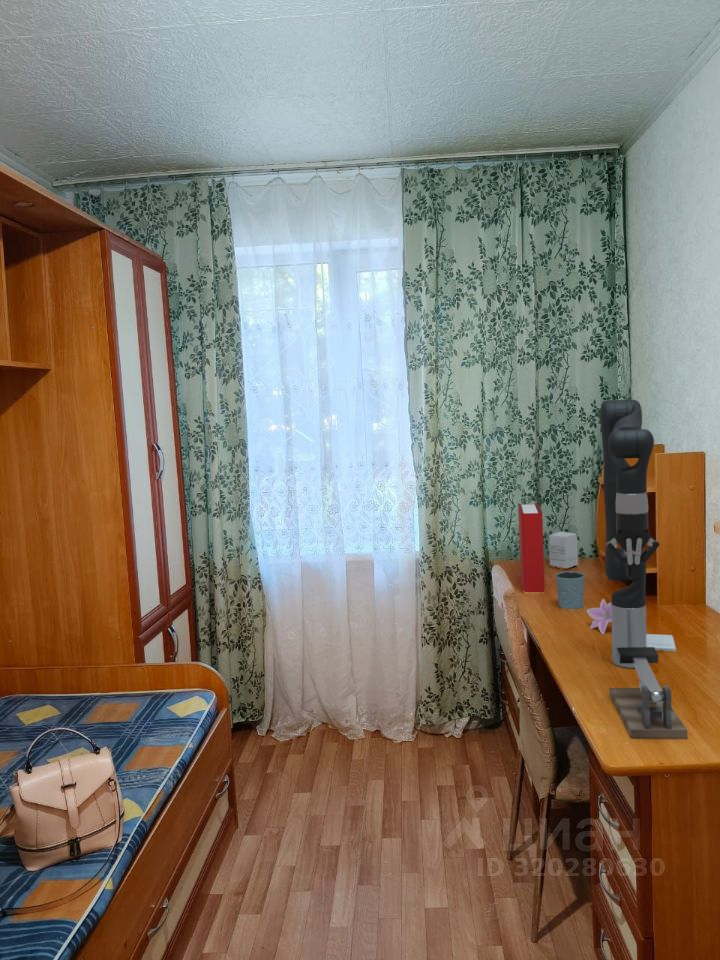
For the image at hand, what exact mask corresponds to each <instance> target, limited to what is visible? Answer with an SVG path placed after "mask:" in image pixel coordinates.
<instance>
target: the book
mask: <svg viewBox="0 0 720 960" xmlns="http://www.w3.org/2000/svg"><path fill="white" fill-rule="evenodd" d="M517 504H518V505H517V508H518V509H517V510H518V511H517V513H518V536H519V538H518V539H519V564H520V565H519V567H520V569H519V570H520V581H521V580H522V582H521V586H522V585H523V587H522V591H523V590H524V591H525V592H544V591H545V590H546V588H545V561H544V560H545V559H544V526H543V525H544V522H543V511H542V509H541V507H540V505H539V503H538V502H536V503H534V504H520V503H519V502H518V503H517ZM545 592H546V591H545Z"/></svg>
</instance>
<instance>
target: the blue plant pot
mask: <svg viewBox="0 0 720 960" xmlns="http://www.w3.org/2000/svg"><path fill="white" fill-rule="evenodd" d="M585 575H586V574H585V573H583V572H580V571H574V570H573V571H572V570H571V571H569V570H565V571H560V572H557V573H556V574H555V581H556V586H557V588H556V589H557V591H556V592H557V600H558V601H557V604H558V607H559V606H560V607H562V608H566V609H579V610H581V609H580V608H582V607H583V608H584V592H585V589H584V588H585V577H586V576H585ZM583 608H582V609H583Z"/></svg>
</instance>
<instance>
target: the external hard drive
mask: <svg viewBox="0 0 720 960" xmlns="http://www.w3.org/2000/svg"><path fill="white" fill-rule="evenodd" d="M646 647H654V648H655V650H658V651H657V652H666V651H674V652H673V653H677V648H676V643H675V640H674V636H673V635H672V634H653V633H651V634H650V633H646ZM659 650H660V651H659ZM661 650H662V651H661Z"/></svg>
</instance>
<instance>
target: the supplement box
mask: <svg viewBox="0 0 720 960" xmlns="http://www.w3.org/2000/svg"><path fill="white" fill-rule="evenodd" d="M548 546H549V547H548V548H549V566H550V565H553V566H557V567H562V568H569V567H572V566H575V565H578V566H579V559H578V556H579V555H578V533H575V532H566V531H559V532H555V533H551V534H549V535H548Z"/></svg>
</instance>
